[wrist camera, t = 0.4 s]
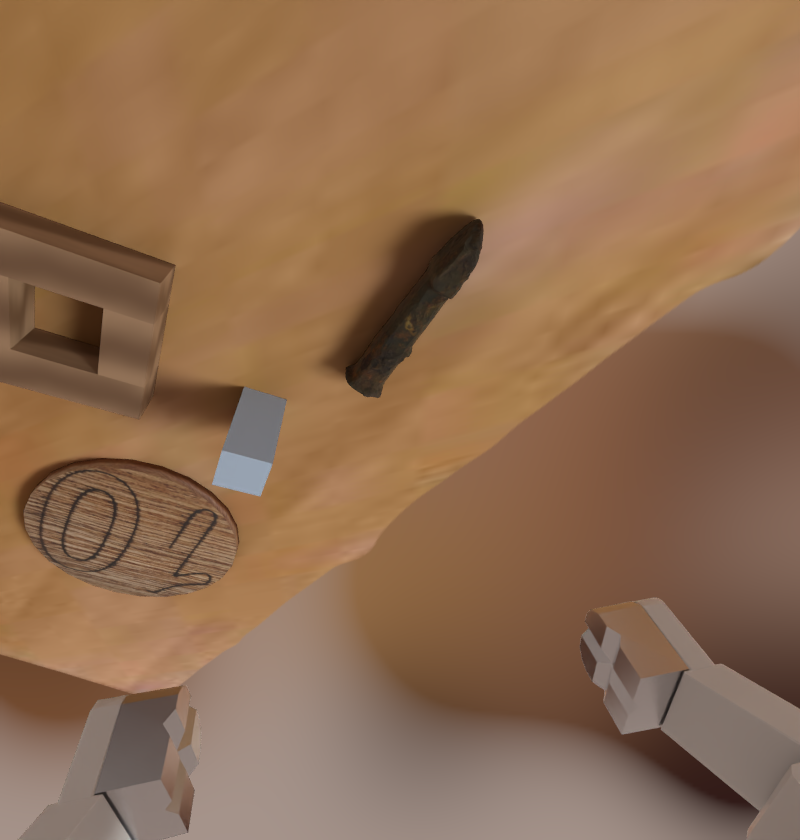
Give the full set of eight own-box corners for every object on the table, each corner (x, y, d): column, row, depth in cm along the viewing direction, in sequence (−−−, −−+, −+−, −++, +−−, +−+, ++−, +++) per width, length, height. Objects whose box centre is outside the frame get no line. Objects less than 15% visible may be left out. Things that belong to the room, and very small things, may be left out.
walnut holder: (-22, 194, 40) (-56, 208, 36) (175, 265, 44) (160, 283, 41) (-13, 348, 48) (-40, 371, 45) (153, 396, 52) (139, 419, 49)
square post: (244, 386, 52) (222, 450, 44) (286, 399, 53) (272, 463, 45) (234, 418, 54) (212, 484, 46) (275, 430, 56) (260, 496, 48)
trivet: (266, 497, 62) (264, 508, 61) (209, 601, 75) (205, 612, 74) (44, 426, 54) (35, 437, 53) (22, 557, 67) (14, 569, 66)
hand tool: (376, 383, 53) (377, 410, 49) (344, 365, 51) (342, 391, 48) (500, 236, 44) (513, 254, 40) (466, 208, 42) (476, 224, 39)
